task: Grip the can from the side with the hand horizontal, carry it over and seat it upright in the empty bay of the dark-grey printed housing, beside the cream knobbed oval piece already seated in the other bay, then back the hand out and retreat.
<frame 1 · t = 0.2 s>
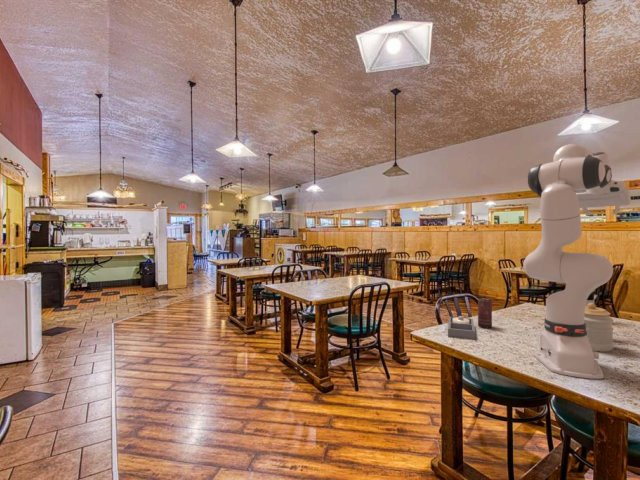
hand: (601, 214, 150), 54 cm above the table, tool tilted 30°, fingers open, 8 cm apart
cream knobbed oval piece: (460, 325, 156), point 1 cm above the table, touching housing
can: (485, 327, 157), on the table
travel mug: (584, 336, 141), on the table
flower in vase: (588, 322, 163), on the table
jar: (591, 346, 129), on the table
housing: (461, 330, 151), on the table
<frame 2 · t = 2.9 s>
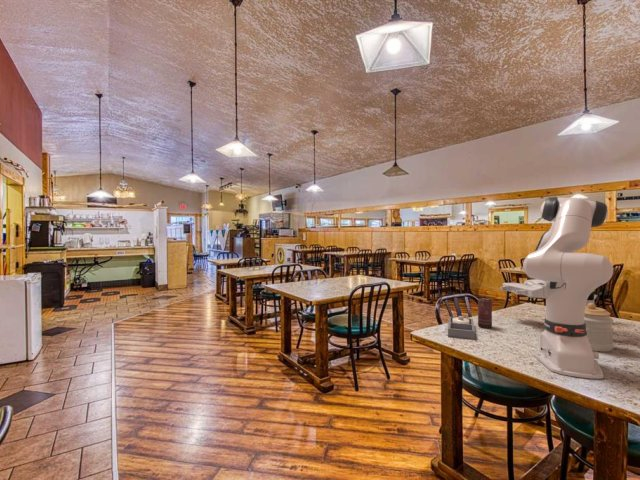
hand: (508, 290, 159), 17 cm above the table, tool horizontal, fingers open, 8 cm apart
nothing on the table moved.
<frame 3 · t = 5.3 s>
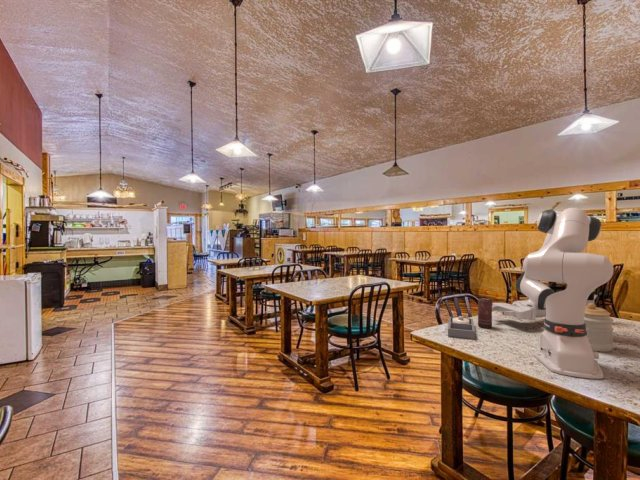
hand: (496, 311, 158), 7 cm above the table, tool horizontal, fingers open, 8 cm apart
nothing on the table moved.
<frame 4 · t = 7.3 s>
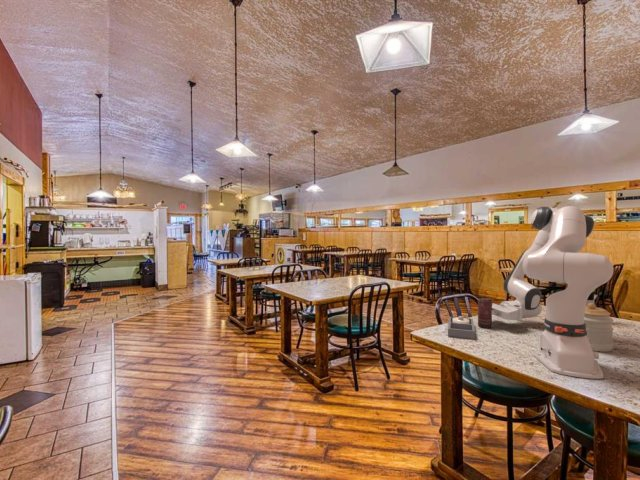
hand: (483, 311, 157), 8 cm above the table, tool horizontal, fingers closed
can: (485, 327, 157), on the table, touching gripper
everything else where it was.
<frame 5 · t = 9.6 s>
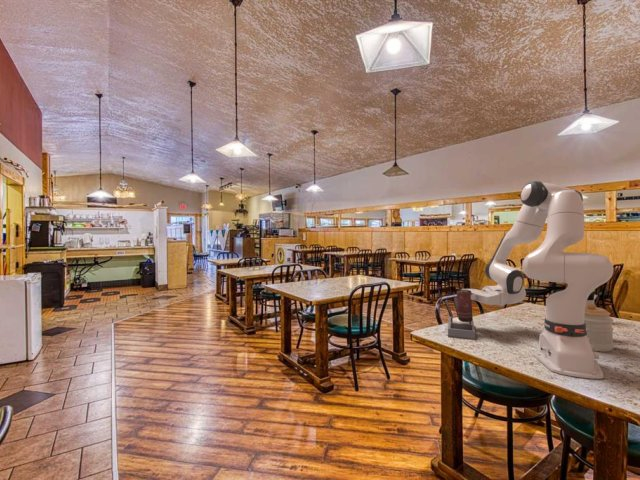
hand: (463, 296, 148), 17 cm above the table, tool horizontal, fingers closed on can
can: (465, 320, 149), point 5 cm above the table, touching gripper
everything else where it was.
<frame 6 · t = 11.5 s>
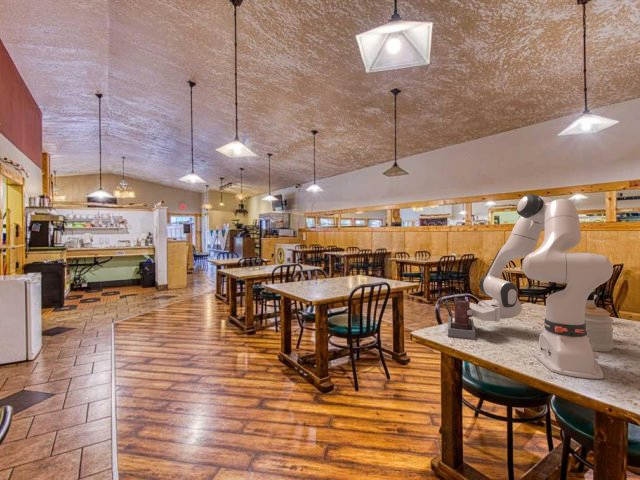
hand: (459, 311, 146), 10 cm above the table, tool horizontal, fingers closed
can: (461, 331, 148), point 1 cm above the table, touching housing
everything else where it was.
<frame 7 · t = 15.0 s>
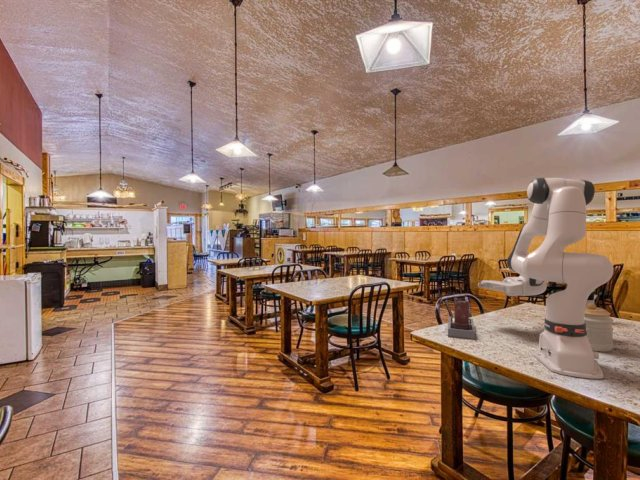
hand: (485, 286, 149), 21 cm above the table, tool horizontal, fingers open, 8 cm apart
nothing on the table moved.
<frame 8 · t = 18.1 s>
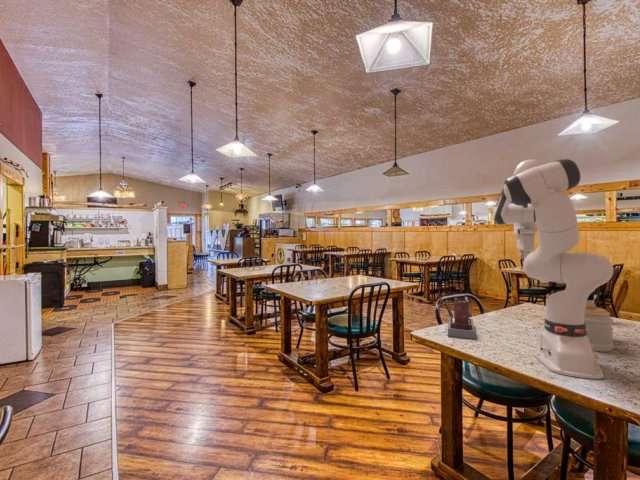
hand: (524, 259, 153), 33 cm above the table, tool pointing down, fingers open, 8 cm apart
nothing on the table moved.
at the end: can inside the target area on the housing (1.4 cm from its centre), point 0.8 cm above the housing's base; can tilted 0°; the gripper is holding nothing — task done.
